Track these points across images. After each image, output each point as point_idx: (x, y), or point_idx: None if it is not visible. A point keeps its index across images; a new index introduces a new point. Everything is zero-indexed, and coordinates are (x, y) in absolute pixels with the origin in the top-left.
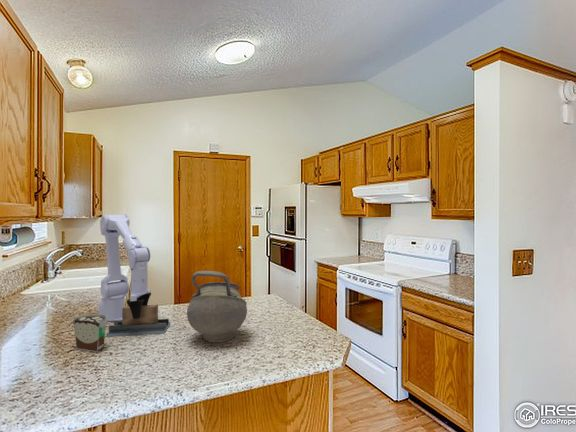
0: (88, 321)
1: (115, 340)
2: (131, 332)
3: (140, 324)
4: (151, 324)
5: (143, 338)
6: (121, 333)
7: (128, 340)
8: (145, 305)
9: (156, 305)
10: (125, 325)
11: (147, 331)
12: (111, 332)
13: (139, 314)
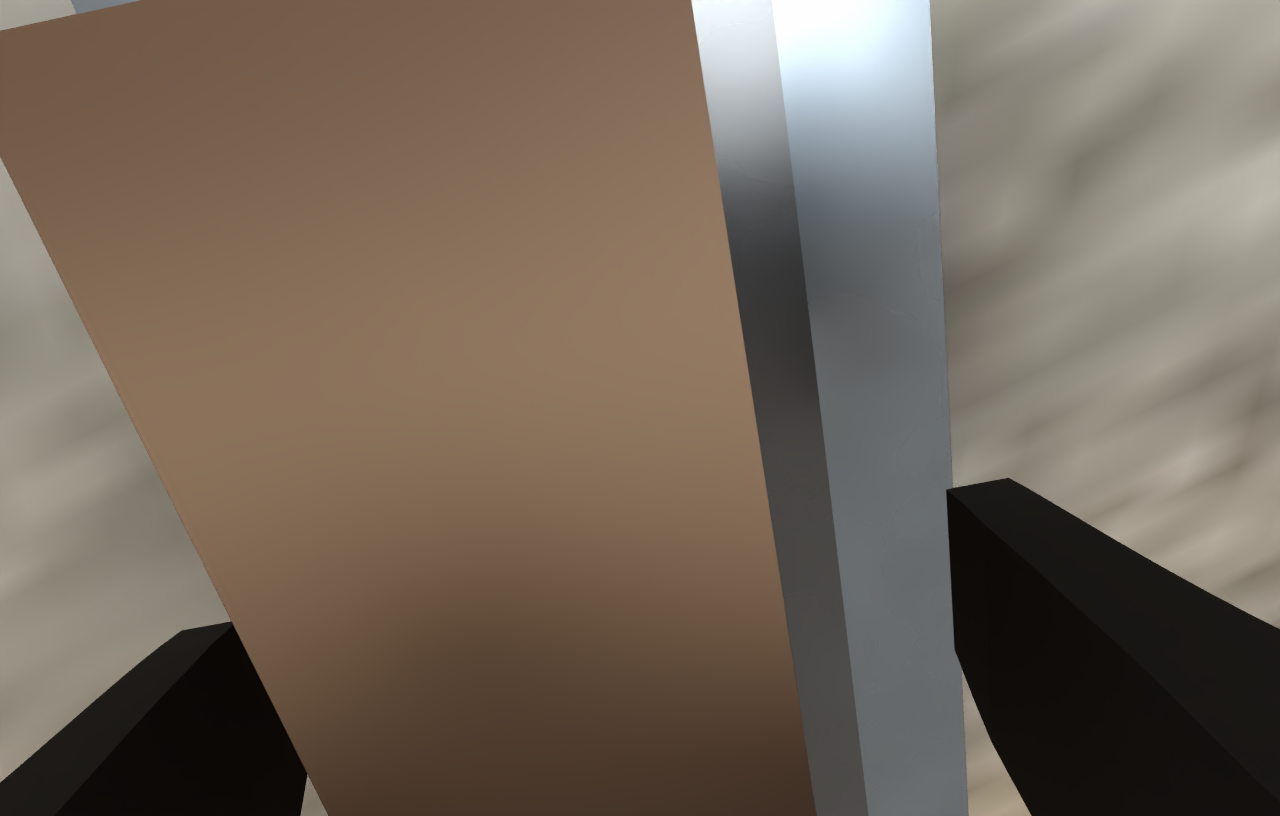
0: None
1: (1175, 559)
2: (948, 441)
3: (797, 384)
4: (772, 34)
5: (1194, 10)
6: None
7: (1243, 315)
8: (354, 804)
9: (198, 69)
10: (851, 697)
11: (915, 63)
12: (901, 789)
13: (1115, 547)
